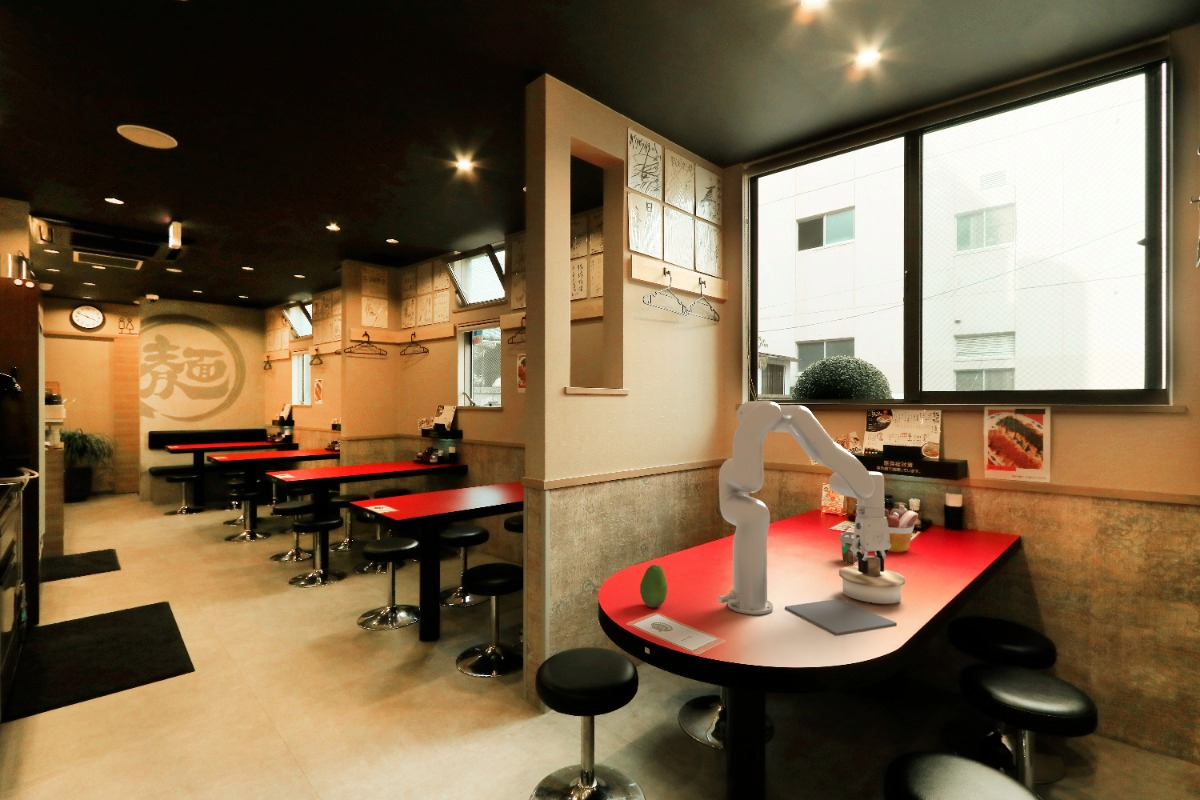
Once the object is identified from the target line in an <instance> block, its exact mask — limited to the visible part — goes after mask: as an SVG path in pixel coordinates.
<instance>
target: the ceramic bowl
mask: <svg viewBox="0 0 1200 800" xmlns="http://www.w3.org/2000/svg"><path fill="white" fill-rule="evenodd" d="M842 593H843V594H844V595H846V596H847V597H849V598H850V599H851V598H852V599H854V600H858V601H863V602H865V601H866V603H870V602H872V603H871V604H895V603H899V602H901V600H902V585H901V586H897V587H874V586H867V585H861V584H857V583H853V582H850V581H847V580H845V579H843V578H842Z"/></svg>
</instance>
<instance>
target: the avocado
mask: <svg viewBox="0 0 1200 800" xmlns="http://www.w3.org/2000/svg"><path fill="white" fill-rule="evenodd" d="M639 587H640V588H639V592H640V596H641V599H642V601H643V603H644V604H645V605H646V606H648V607H649V608H658V607H661V606H662V605H664V604H665V601H666V599H667V594H668V583H667V579H666V575H665V573H664V570H663V567H662V566H660V565H658V564H651V565H650V566H648V567H647V569H646V570H645V572H644V574H643V577H642V580H641V582H640V585H639Z"/></svg>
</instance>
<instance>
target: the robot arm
mask: <svg viewBox="0 0 1200 800" xmlns="http://www.w3.org/2000/svg"><path fill="white" fill-rule="evenodd" d="M736 419H737V421H738V423H739V425H737V428H736V429H735V432H734V436H733V438H732V439H733V440H732V457H731V458H728V459H726V460H725V461H723V463H722V464H721V467H720V469H719V471H718V472H719V473H718V492H719V493H718V494H719V509H720V513H721V516H722V518H723V519H724V520H725V521H726V522H727V523H729V524H732V526H733V525H734V526H735V527H736V528H735V532H734V535H733V541H732V589H730V590H729V593H728V594H727V595H725V594H724V595H719V596H718V597H717V599H718V603H720V604H724V603H727V606H728V608H729V609H730V610H731V611H732V610H733V611H735V612H736V613H741V614H746V615H750V616H751V615H753V616H754V615H755V616H758V615H759V616H760V615H761V616H762V615H766V614H769V613H771V612H772V611H773V610H774V605H773V603H772V602H771V601H769V600H768V535H769V528H770V523H771V515H770V511H769V508H768V506H767V505H766V504H765V503H764V502H763V501H762V500H760V499H757V498H756V497H752V496H750V495H749V494H753V493H754V494H755V493H756V492H757V493H758V492H759V491H760V490H761V489H762V488H763V486H764V481H765V476H764V475H765V474H764V469H765V468H764V442H765V440H766V437H767V435H768V434H769V432H775V433H787V434H788V433H789V434H790V435H791V437H793V439H794V440H795V441H796V443H798V444H799V446H800V448H801V449H802V450H803V451H804V452H805V454H806V455H807V456H808V457H809V459H811V460H813V461H815V462H816V463H817V464H819V465H822V466H824V467H826V468H827V469H829V470H831V471H832V472H833V473H832V474H831V475H830V477H829V478H828V479H829V480H828V486H829V488H830V489H831V491H832V492H834V493H835V494H837V495H839V496H843V497H849V498H853V499H856V510H855V513H856V517H855V520H854V528H853V532H854V542H853V544H852V546H851V547H850V550H851V551H852V552H853V553H854V554H855V556H856V558H857V559H858V562H857V563H858V564H857V566H858V571H859V572H861V573H864V574H868V561H867V560H866V558H867V556H868V553H869V552H870V553H871V552H874V554H875V556H874V555H873V556H874V557H878V558H880V571H881V572H884V569H885V559H886V558H887V554H888V552H889V551H888V550H889V549H890V547H891V544H890V537H889V527H888V522H887V518H886V517H884V508H885V477H884V474H883V473H882V472H879V471H874V470H873V471H871V470H870V471H869V470H867V468H866V466H864V465H863V463H862V462H861V461H860V460H859V459H858V458H857V457H856V456H855V455H853V454H852V453H851V452H849V451H848V450H847V449H845V448H844V447H842V446H841V445H840V444H838V443H837V442H836V441H834V439H832V437H831V436H830V434H829V433H828V432H827V431H826V429H825V428H824V427H823V426H822V425H821V423H820V422H819V421H818V419H817V418H816V417H815V416H814V414H813V413H812V411H811V410H810V409H809V408H807V407H806V406H804V405H799V404H797V405H795V404H789V405H788V404H787V405H786V404H781V405H779V404H778V403H776V402H775V401H771V400H753V401H752V400H751V401H750V400H749V401H746V402H744V403H741V404H740V406H739V407H738V409H737V411H736Z"/></svg>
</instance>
